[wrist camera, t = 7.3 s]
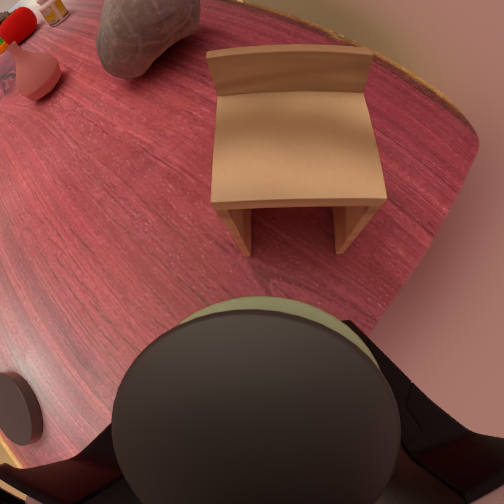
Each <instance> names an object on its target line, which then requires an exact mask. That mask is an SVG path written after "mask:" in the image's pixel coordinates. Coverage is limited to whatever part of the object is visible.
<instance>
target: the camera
mask: <svg viewBox="0 0 504 504" xmlns="http://www.w3.org/2000/svg"><path fill="white" fill-rule="evenodd" d="M8 14H9V12H8V11H7V12H3V13H0V25H1V23H2V22H3V21H4V20H5V18H6V17H8ZM0 37H1V36H0Z"/></svg>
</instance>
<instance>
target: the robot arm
mask: <svg viewBox="0 0 504 504" xmlns="http://www.w3.org/2000/svg"><path fill="white" fill-rule="evenodd" d="M341 322H343V323H344V324H346V325H347V326H348V327H349V328H350V329H351V330H352V331H353V332H355V333H356V334H357V335H358V336H359V337H360V339H361V340H362V341H363V342H364V343H365V345H366V346H367V347H368V348H369V350H370V352H371V353H372V355H373V357H374V358H375V360H376V362H377V364H378V366H379V368H380V371H381V372H382V374H383V375H384V377H385V379H386V380H387V382H388V384H389V386H390V387H391V390H392V393H393V395H394V398H395V400H396V403H397V407H398V412H399V417H400V427H401V440H400V449H399V456H398V459H397V463H396V466H395V469H394V472H393V474H392V476H391V479H390V481H389V483H388V485H387V487H386V488H385V490H384V491H383V493H382V494H381V496H380V497H379V499H378V500H377V501H376V503H375V504H504V438H498V437H493V436H487V435H482V434H478V433H475V432H472V431H470V430H468V429H467V428H465V427H464V426H462V425H461V424H460V423H459V422H457V421H456V420H455V419H454V418H452V417H451V416H450V415H449V414H447V413H446V412H445V411H444V410H442V409H441V408H440V407H439V406H437V405H436V404H435V403H434V402H433V401H431V400H430V399H429V398H428V397H427V396H426V395H425V394H424V393H423V392H422V391H421V390H420V389H419V388H418V387H417V386H416V385H415V384H414V383H411V380H410V379H409V378H408V377H407V376H406V375H405V374H404V373H403V372H402V371H401V370H400V369H399V368H398V367H397V366H396V365H395V364H394V363H393V362H392V361H391V360H390V359H389V358H388V357H387V356H386V355H385V354H384V353H383V352H382V351H381V350H380V349H379V348H378V347H377V346H376V345H375V344H374V343H373V342H372V341H371V340H370V339H369V338H368V337H367V336H366V335H365V334H364V333H363V332H362V331H361V330H360V329H359V328H358V327H357V326H356V325H355V324H354V323H353V322H352V321H351V320H344V321H341ZM0 479H1V480H3V481H4V482H6V483H7V484H9V485H10V486H12V487H14V488H15V489H17V490H19V491H20V492H22V493H24V494H26V495H27V497H26V501H25V500H23V499H21V498H19V497H17V496H15V495H13V494H11V493H10V492H8V491H6V490H4V489H2V488H1V487H0V504H142V502H141V501H140V500H139V499H138V497H137V496H136V495H135V494H134V492H133V491H132V489H131V488H130V486H129V484H128V483H127V481H126V479H125V478H124V476H123V473H122V471H121V469H120V467H119V464H118V461H117V458H116V455H115V451H114V447H113V440H112V422H111V423H110V424H109V425H108V426H107V427H106V428H105V429H104V430H103V431H102V432H101V433H100V434H99V435H98V436H97V437H96V438H95V439H94V440H93V441H92V442H91V443H90V444H89V445H88V446H87V447H86V448H85V449H84V450H83V451H81V452H80V453H79V454H77V455H76V456H74V457H72V458H70V459H67V460H63V461H59V462H55V463H51V464H47V465H42V466H38V467H33V468H27V469H18V468H14V467H12V466H11V465H9V464H7V463H3V464H0Z"/></svg>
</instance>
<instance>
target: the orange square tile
mask: <svg viewBox="0 0 504 504" xmlns="http://www.w3.org/2000/svg"><path fill="white" fill-rule="evenodd" d="M8 46H9V44H7V43H6V42H4V41H3V40H2V39H1V38H0V54H1V53H2V52H3V51H5V50H6V49H7V47H8Z"/></svg>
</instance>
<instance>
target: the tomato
mask: <svg viewBox="0 0 504 504" xmlns="http://www.w3.org/2000/svg"><path fill="white" fill-rule="evenodd" d="M36 26H37V19H36V16H35V14H34V13H33V12H32V11H31V10H30V9H28V8H26V7H20V8H18V9H15V10H14V11H13V12H12V13H9V14H8V17H6V18H5V20H4V21H3V22H2V23H1V25H0V36H1V38H2V40H3V41H4V42H6V43H7V44H11V43H13V42H14V41H15V42H16V43H17V44H18V43H20V42H22V41H23V40H25V39H26V38H27V37H28V36H30V35H31V34H32V32H33V31H34V30H35V28H36Z"/></svg>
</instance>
